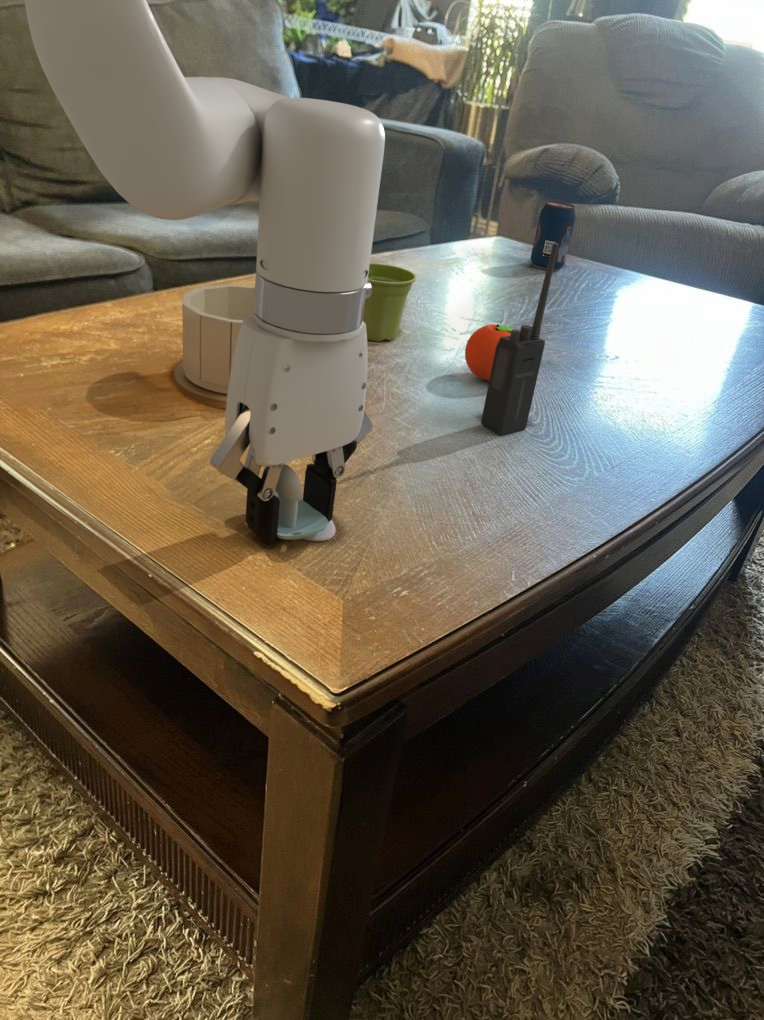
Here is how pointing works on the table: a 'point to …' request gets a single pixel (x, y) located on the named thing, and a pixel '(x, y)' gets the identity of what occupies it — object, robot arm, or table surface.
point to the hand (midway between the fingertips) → (289, 521)
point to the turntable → (198, 390)
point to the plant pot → (386, 300)
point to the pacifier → (299, 512)
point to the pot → (213, 332)
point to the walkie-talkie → (516, 370)
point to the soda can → (553, 234)
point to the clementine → (484, 349)
